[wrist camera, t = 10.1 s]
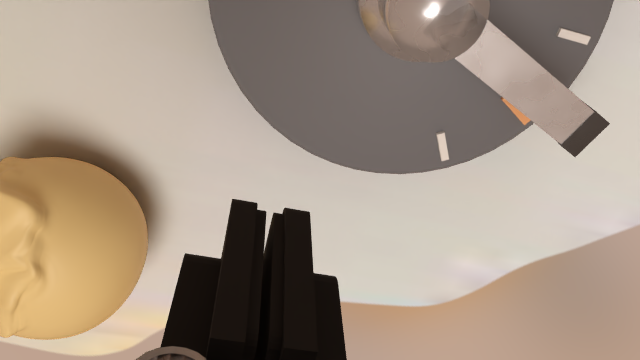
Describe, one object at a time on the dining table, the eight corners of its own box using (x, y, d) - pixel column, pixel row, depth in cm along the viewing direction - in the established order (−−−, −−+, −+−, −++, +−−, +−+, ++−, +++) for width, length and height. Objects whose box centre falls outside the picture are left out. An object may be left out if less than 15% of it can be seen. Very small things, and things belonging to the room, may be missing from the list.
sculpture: (12, 105, 38) (-82, 183, 28) (183, 181, 41) (151, 274, 31) (-32, 234, 42) (-127, 340, 33) (125, 294, 45) (81, 405, 36)
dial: (331, 4, 33) (338, 27, 28) (410, -104, 31) (434, -99, 26) (511, 144, 38) (545, 185, 33) (592, 60, 36) (642, 92, 30)
